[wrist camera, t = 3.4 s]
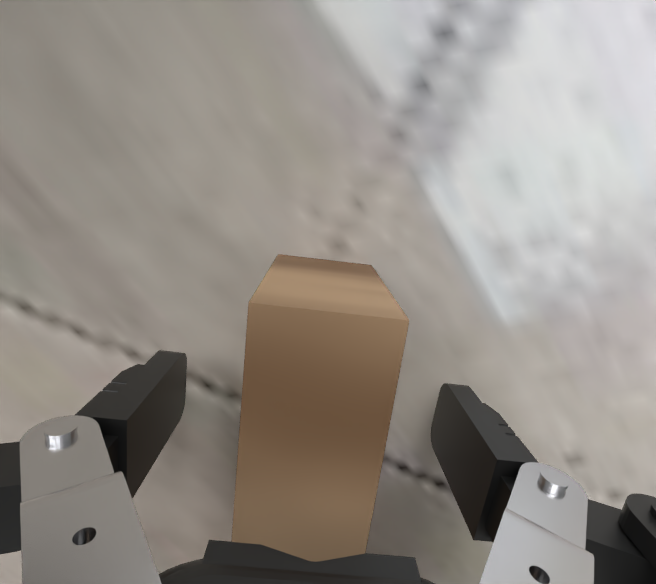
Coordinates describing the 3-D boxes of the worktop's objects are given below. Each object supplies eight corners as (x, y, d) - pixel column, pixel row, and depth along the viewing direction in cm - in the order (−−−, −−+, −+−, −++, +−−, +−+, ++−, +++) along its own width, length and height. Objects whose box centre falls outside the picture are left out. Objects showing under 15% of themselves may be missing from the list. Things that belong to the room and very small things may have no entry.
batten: (278, 253, 12) (248, 302, 7) (370, 264, 12) (409, 320, 7) (241, 666, 17) (207, 880, 12) (307, 670, 17) (302, 882, 12)
